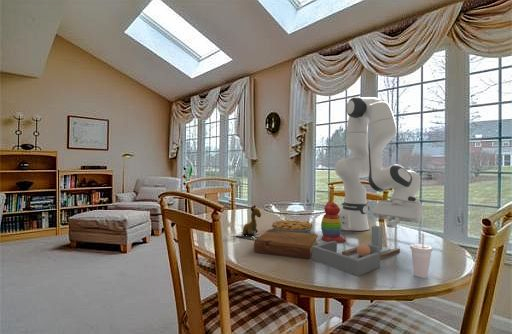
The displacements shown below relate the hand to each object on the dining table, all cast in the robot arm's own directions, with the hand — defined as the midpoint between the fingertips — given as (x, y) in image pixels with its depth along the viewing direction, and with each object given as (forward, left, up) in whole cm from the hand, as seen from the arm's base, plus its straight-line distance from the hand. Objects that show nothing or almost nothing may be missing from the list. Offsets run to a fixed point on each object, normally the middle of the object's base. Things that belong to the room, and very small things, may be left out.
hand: (390, 226), depth 123 cm
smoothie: (+21, -20, -10) cm, 30 cm away
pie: (-47, -13, -10) cm, 49 cm away
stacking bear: (-24, -9, -10) cm, 27 cm away
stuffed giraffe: (-55, -34, -10) cm, 65 cm away
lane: (-1, -13, -9) cm, 16 cm away
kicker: (-1, -9, -9) cm, 13 cm away
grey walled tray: (-1, -30, -9) cm, 31 cm away
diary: (-26, -36, -10) cm, 45 cm away
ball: (-1, -18, -7) cm, 20 cm away
